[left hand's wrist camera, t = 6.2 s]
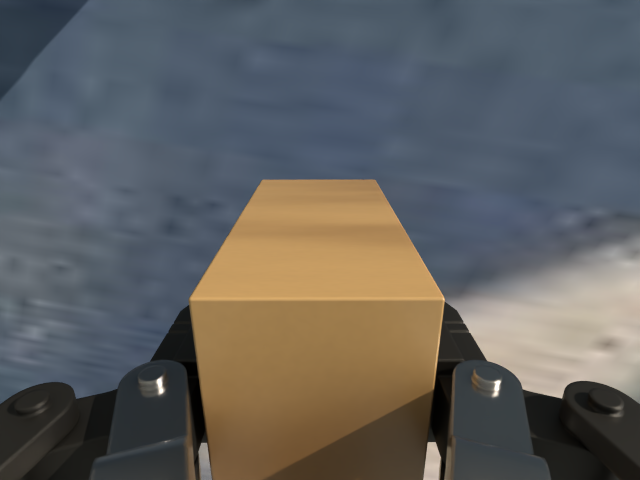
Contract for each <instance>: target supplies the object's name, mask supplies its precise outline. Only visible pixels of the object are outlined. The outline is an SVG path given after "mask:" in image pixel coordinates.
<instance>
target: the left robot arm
mask: <svg viewBox="0 0 640 480" xmlns="http://www.w3.org/2000/svg"><path fill="white" fill-rule="evenodd" d="M428 442H436V444H437V447H438V450H439V453H440V456H441V460H440V468H439V480H640V404H639V403H637V402H636V401H635V400H633V399H632V398H630V397H629V396H627V395H626V394H624V393H622V392H621V391H619V390H617V389H614V388H612V387H609V386H607V385H604V384H600V383H596V382H590V381H577V382H573V383H570V384H569V385H567V387H566V388H565V390H564V394H563V398H562V399H561V398H556V397H552V396H547V395H543V394H538V393H533V392H530V391H526V390H523V389H522V386H521V383H520V381H519V380H518V378H517V377H516V376H515V375H514V374H513V373H512V372H510V371H509V370H507V369H506V368H504V367H502V366H500V365H498V364H495V363H492V362H488V361H487V360H486V358H485V357H484V355H483V353H482V352H481V350H480V348H479V347H478V345H477V343H476V342H475V340H474V338H473V337H472V335H471V333H469V330H468V328H467V327H466V325H465V324H463V320H462V318H461V317H460V315H459V313H458V312H457V310H455V309H454V308H453V307H451V306H450V305H448V304H447V303H446V302H444V310H443V318H442V327H441V335H440V343H439V351H438V360H437V368H436V376H435V385H434V393H433V401H432V410H431V418H430V426H429V435H428ZM201 443H207V437H206V429H205V422H204V414H203V406H202V399H201V391H200V384H199V376H198V368H197V361H196V353H195V345H194V338H193V330H192V322H191V315H190V307H189V305H188V306H187V307H186V308H184V309H183V310H181V312H180V313H179V315H178V316H177V318H176V320H175V321H174V324H173V325H172V326H171V328H170V330H169V333H167V335H166V336H165V338H164V339H163V341H162V343H161V344H160V346H159V348H158V349H157V351H156V353H155V354H154V356H153V357H152V359H151V361H150V362H148V363H145V364H142V365H140V366H138V367H136V368H134V369H133V370H131V371H130V372H128V373H127V374H126V375H125V376H124V377H123V378H122V380H121V381H120V383H119V386H118V389H116V390H113V391H110V392H106V393H102V394H97V395H93V396H88V397H83V398H79V399H76V397H75V393H74V390H73V388H72V387H71V386H69V385H68V384H65V383H60V382H50V383H43V384H39V385H35V386H32V387H29V388H27V389H24V390H22V391H20V392H18V393H16V394H15V395H13V396H11V397H10V398H8V399H7V400H5V401H4V402H3V403H1V404H0V480H201V468H200V460H199V453H198V451H199V448H200V445H201Z"/></svg>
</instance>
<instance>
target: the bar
mask: <svg viewBox="0 0 640 480" xmlns="http://www.w3.org/2000/svg"><path fill="white" fill-rule="evenodd" d="M444 302H445V299H444V297H443V295H442V293H441V291H440V290H439V288H438V286H437V285H436V283H435V281H434V280H433V278H432V276H431V274H430V273H429V271H428V269H427V268H426V266H425V264H424V262H423V261H422V259H421V257H420V256H419V254H418V252H417V250H416V249H415V247H414V245H413V244H412V242H411V240H410V239H409V237H408V235H407V233H406V232H405V230H404V228H403V227H402V225H401V223H400V221H399V220H398V218H397V216H396V215H395V213H394V211H393V210H392V208H391V206H390V204H389V203H388V201H387V199H386V198H385V196H384V194H383V192H382V191H381V189H380V187H379V186H378V184H377V182H376V181H375V180H262V181H261V182H260V184H259V186H258V187H257V189H256V190H255V192H254V194H253V195H252V197H251V199H250V200H249V202H248V203H247V205H246V207H245V208H244V210H243V212H242V213H241V215H240V216H239V218H238V220H237V221H236V223H235V225H234V226H233V228H232V229H231V231H230V233H229V234H228V236H227V237H226V239H225V241H224V242H223V244H222V246H221V247H220V249H219V250H218V252H217V254H216V255H215V257H214V259H213V260H212V262H211V263H210V265H209V267H208V268H207V270H206V272H205V273H204V275H203V276H202V278H201V280H200V281H199V283H198V285H197V286H196V288H195V289H194V291H193V293H192V294H191V296H190V297H189V307H190V315H191V322H192V330H193V338H194V345H195V353H196V361H197V368H198V376H199V384H200V391H201V399H202V406H203V414H204V422H205V429H206V437H207V445H208V452H209V460H210V468H211V475H212V480H423V476H424V468H425V460H426V451H427V443H428V435H429V426H430V418H431V410H432V401H433V393H434V385H435V376H436V368H437V360H438V351H439V343H440V335H441V327H442V318H443V310H444Z"/></svg>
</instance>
